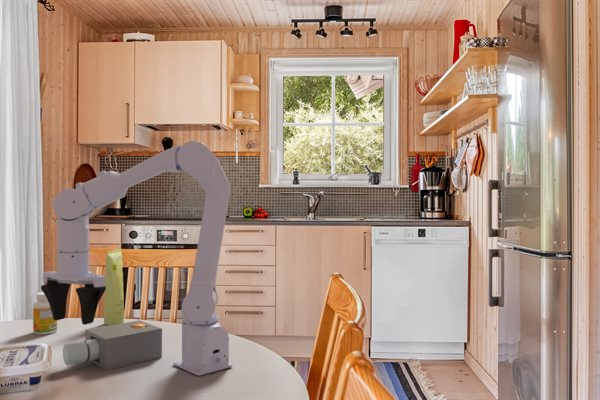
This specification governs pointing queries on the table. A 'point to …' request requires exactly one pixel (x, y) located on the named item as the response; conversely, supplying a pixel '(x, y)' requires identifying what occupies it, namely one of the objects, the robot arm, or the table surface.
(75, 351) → the cylinder
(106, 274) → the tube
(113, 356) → the housing
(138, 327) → the plunger
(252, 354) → the table surface
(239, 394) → the table surface
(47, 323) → the supplement bottle
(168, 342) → the table surface
